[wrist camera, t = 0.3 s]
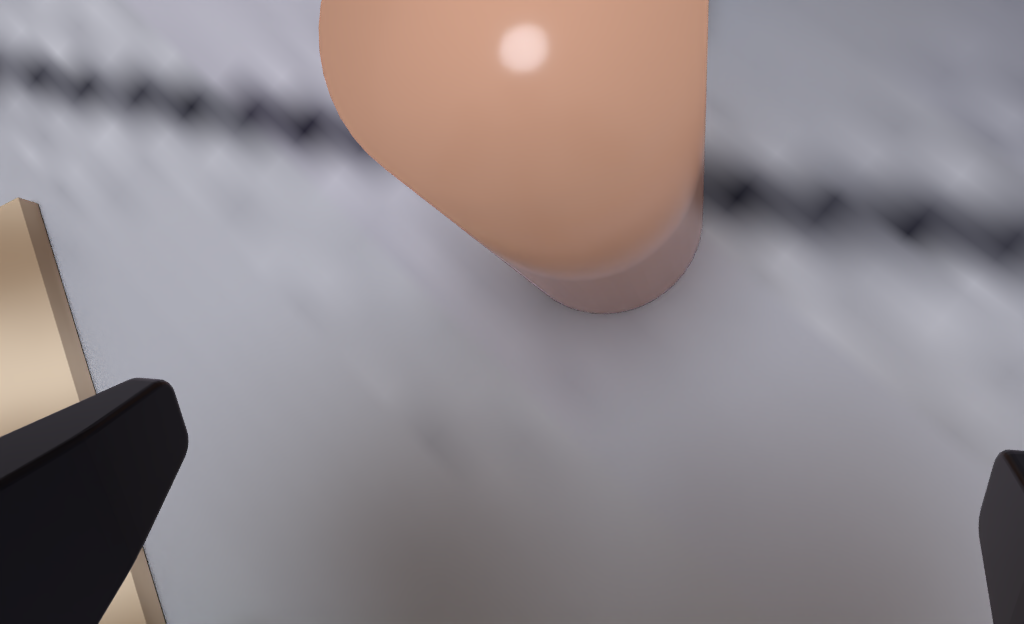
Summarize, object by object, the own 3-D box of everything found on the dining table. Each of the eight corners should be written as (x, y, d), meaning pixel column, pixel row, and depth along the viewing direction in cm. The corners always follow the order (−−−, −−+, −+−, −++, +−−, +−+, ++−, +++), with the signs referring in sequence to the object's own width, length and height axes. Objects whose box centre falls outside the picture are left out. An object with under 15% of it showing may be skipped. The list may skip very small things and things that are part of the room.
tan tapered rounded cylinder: (735, 265, 23) (779, 93, 10) (553, 344, 23) (397, 269, 11) (655, 93, 24) (609, -247, 11) (483, 174, 24) (268, -64, 12)
